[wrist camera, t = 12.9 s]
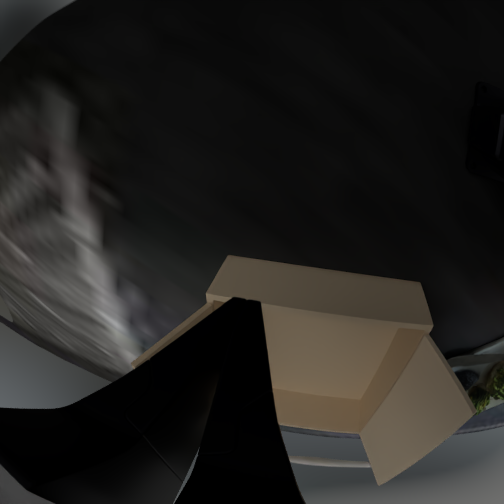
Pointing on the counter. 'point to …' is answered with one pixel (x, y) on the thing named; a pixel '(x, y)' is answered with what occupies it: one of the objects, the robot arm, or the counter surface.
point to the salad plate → (482, 374)
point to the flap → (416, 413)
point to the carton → (328, 337)
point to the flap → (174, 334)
